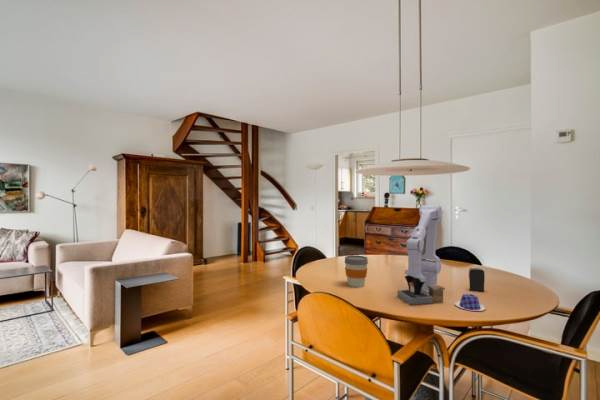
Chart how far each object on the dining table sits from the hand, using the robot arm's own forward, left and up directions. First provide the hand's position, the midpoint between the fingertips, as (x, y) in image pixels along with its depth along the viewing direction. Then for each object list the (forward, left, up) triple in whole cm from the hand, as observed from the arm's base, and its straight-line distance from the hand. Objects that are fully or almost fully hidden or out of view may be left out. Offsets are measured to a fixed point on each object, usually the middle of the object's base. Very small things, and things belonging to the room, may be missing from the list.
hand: (414, 292), depth 142 cm
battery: (-8, +40, -4) cm, 40 cm away
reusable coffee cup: (-28, -18, -4) cm, 34 cm away
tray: (0, 0, -3) cm, 3 cm away
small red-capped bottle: (0, 0, -2) cm, 2 cm away
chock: (+3, +9, -3) cm, 10 cm away
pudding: (+12, +20, -4) cm, 23 cm away
